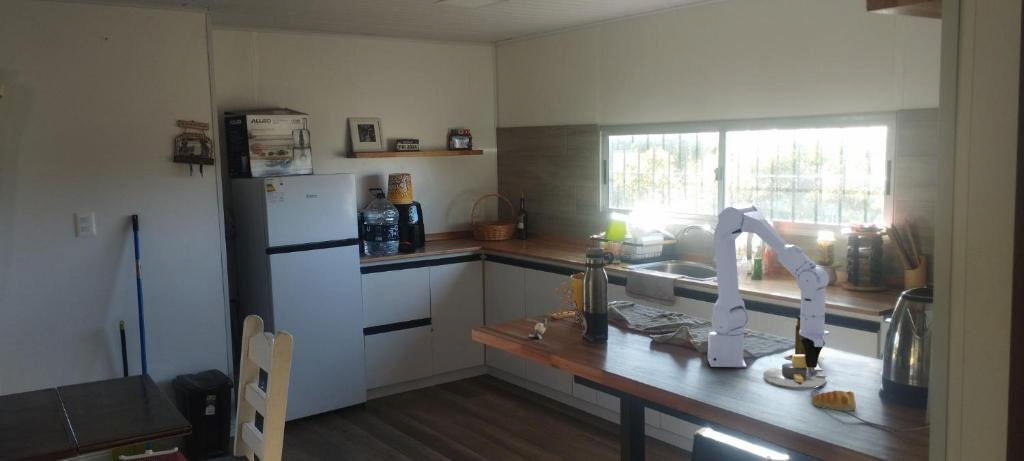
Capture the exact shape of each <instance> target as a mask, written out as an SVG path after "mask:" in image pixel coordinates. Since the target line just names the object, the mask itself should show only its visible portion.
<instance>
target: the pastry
mask: <svg viewBox="0 0 1024 461" xmlns="http://www.w3.org/2000/svg"><path fill="white" fill-rule="evenodd" d="M811 403H812V404H813V405H814V406H816V407H818V408H821V407H824V408H823V409H827V408H829V409H828V410H831V409H833V410H832V411H834V409H836V410H835V411H842V410H851V411H850V412H853V411H852V410H854V411H856V409H857V404H856V400H855V393H854V391H851V390H849V391H843V390H832V391H827V392H822V393H818V394H814V396H813V397H812V399H811Z"/></svg>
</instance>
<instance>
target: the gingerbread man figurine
mask: <svg viewBox="0 0 1024 461" xmlns="http://www.w3.org/2000/svg"><path fill="white" fill-rule="evenodd" d="M565 284H566V285H565ZM564 285H565V286H564ZM570 288H571V287H570V284H569V283H567V282H563V283H561V284H560V286H559V288H555V289H554V295H555V297H556V298H558V299H560V305H559V307H558V309H557V311H556V313H553V314H551V317H552V318H554V319H557V320H559V319H565V318H571V317H572V318H573V317H576V316H575V312H576V311H575V312H574V308H573V307H572V305H571V303H570V301H571V302H574V301H573V298H572V297H573V296H569V295H568V293H569V294H570V293H571V294H572V293H573V292H572V291H570ZM558 294H561V295H562V296H563V297H560V296H558ZM567 295H568V296H567ZM563 304H564V306H562V305H563ZM565 304H568V306H569V307H570V308H569V309H568V307H567V305H565ZM562 307H563V308H562ZM561 308H562V309H561ZM565 310H566V311H565Z"/></svg>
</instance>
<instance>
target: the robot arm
mask: <svg viewBox="0 0 1024 461" xmlns="http://www.w3.org/2000/svg"><path fill="white" fill-rule="evenodd" d="M717 219H718V221H717V224H716V227H715V229H714V233H713V240H714V241H713V242H714V252H715V253H714V254H715V266H716V269H715V270H716V280H717V293H718V297H717V300H716V301H715V303H714V305H713V311H712V312H713V313H712V315H711V318H710V319H711V321H710V322H711V325H712V326H711V327H712V328H713V329H714V331H709V332H708V335H707V360H708V363H709V365H710V367H712V368H713V367H714V368H716V367H717V368H747V364H746V362H745V359H744V331H745V326H747V325H748V322H749V318H750V317H749V314H748V311H747V310H746V309H747V308H746V306H745V301H744V300H743V299H742V297H740V292H739V291H740V290H739V276H738V274H739V273H738V264H737V261H738V260H737V250H736V239H738V237H739V236H740V235H742V233H749V234H750V233H751V234H755V235H757V236H758V237H759V238H760V239H761V240H762V241H763V242H764V243H765V244H766V245H768V247H770V248H771V249H772V250H774V252H775V253H776V254H777V260H778V262H779V263H780V264H781V265H782V266H783V267H784V268H785V269H786V270H787V271H788V272H789V273H790V274H791V275H792V276H793V277H794V278H796V285H797V287H798V288H799V290H800V314H799V315H800V331H799V334H800V335H801V336H804V337H806V338H801V339H799V340H800V342H801V344H802V347H803V350H804V354H805V360H806V365H807V367H808V368H816V366H817V364H818V363H819V362H818V361H819V360H818V357H820V353H821V352H822V349H823V347H825V344H826V342H825V340H824V339H825V336H830V331H828V330H825V321H826V320H825V319H826V317H825V316H826V287H827V286H828V285H829V283H830V279H831V277H830V273H829V271H828V270H827V269H826V267H825V266H822V265H817V262H815V261H814V260H812V259H810V258H809V257H808V256H807V255H806V254H805V253H804V252H803V251H804V249H803V247H801V246H797V245H796V244H788V243H787V242H786V240H785V239H784V238H783V237H782V236H781V235H780V234H779V233H778V232H777V230H776V229H774V227H773V226H772V225H771V224H770V223H769V222H768V220H766V218H765V215H764V214H763V213H762V212H761V211H759V210H758V209H757V207H756V206H755V205H753V204H750V203H746V204H743V205H737V206H736V205H735V206H727V207H726V208H724V209H723V210H722V211H721V212H720V213H718V215H717ZM808 368H807V369H808Z"/></svg>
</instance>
